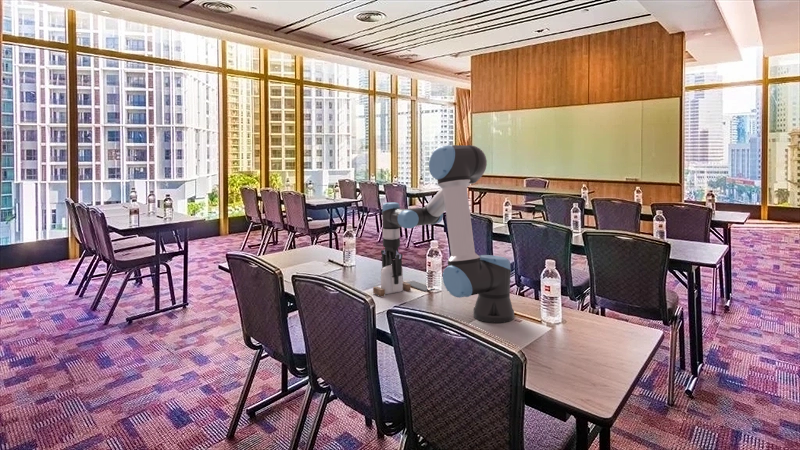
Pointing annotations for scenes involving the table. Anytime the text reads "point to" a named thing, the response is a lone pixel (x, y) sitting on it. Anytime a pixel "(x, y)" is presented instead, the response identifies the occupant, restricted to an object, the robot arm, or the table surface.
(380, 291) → the cradle
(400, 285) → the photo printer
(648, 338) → the table surface
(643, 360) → the table surface
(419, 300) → the table surface
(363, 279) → the table surface
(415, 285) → the mat
